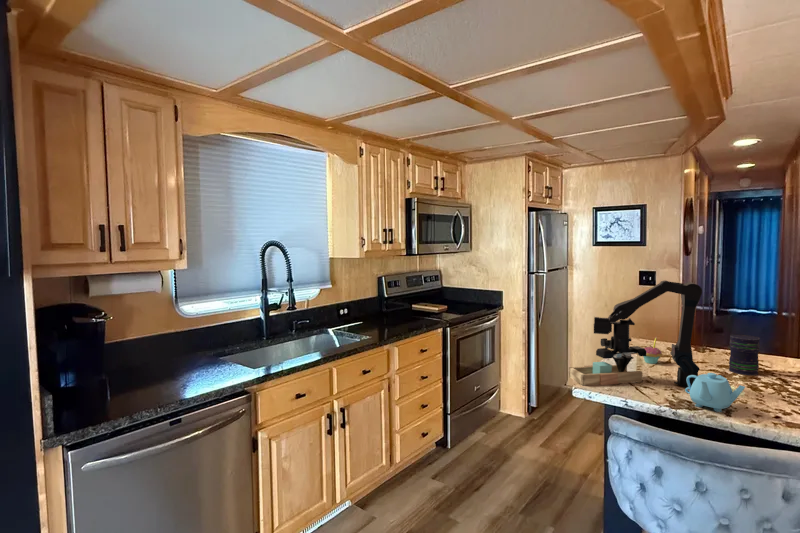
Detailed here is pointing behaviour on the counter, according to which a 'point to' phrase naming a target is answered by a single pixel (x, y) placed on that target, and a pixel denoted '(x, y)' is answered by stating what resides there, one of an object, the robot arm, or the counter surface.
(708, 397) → the teapot
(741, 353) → the storage jar
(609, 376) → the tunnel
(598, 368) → the block
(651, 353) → the cupcake
